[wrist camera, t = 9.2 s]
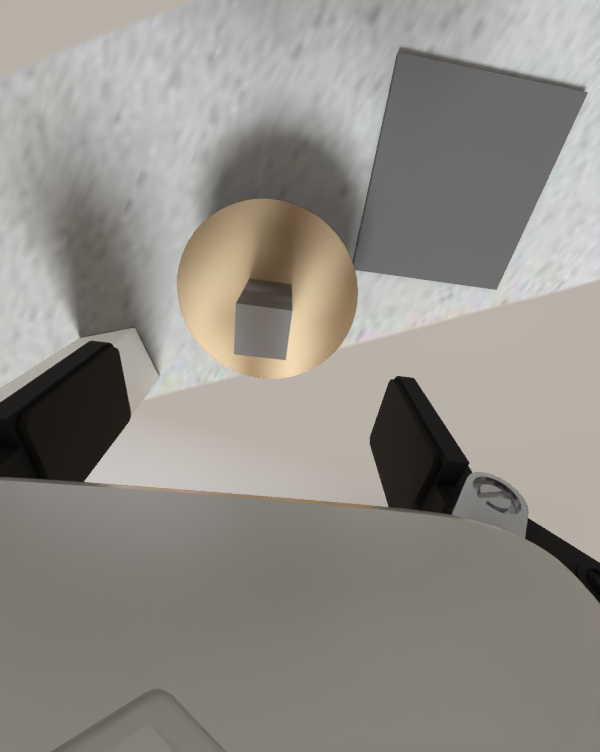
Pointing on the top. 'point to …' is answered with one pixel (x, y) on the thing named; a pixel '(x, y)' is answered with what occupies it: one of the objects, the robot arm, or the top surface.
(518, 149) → the mat
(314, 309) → the lid
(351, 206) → the top surface
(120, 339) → the milk
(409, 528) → the robot arm
